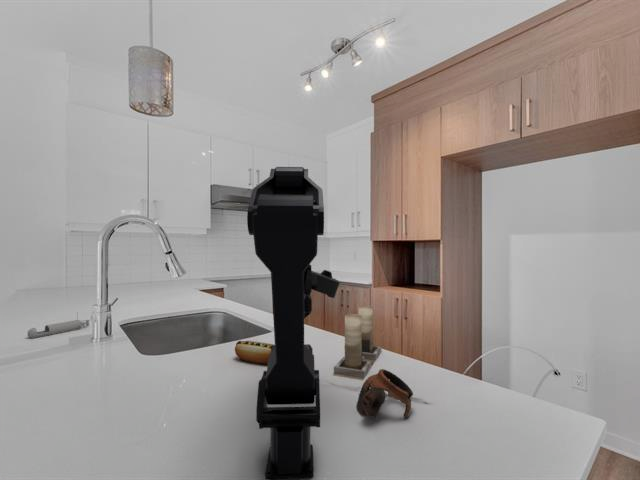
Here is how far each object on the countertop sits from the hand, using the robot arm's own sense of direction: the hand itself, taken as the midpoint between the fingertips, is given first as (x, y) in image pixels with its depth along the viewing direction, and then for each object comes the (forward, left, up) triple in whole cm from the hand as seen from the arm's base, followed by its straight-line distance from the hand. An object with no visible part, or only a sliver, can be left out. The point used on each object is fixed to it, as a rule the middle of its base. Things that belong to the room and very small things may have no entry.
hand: (294, 340), depth 61 cm
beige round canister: (+15, -13, -12) cm, 23 cm away
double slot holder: (+20, -16, -13) cm, 29 cm away
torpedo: (+56, +85, -13) cm, 102 cm away
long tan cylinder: (+26, -18, -12) cm, 34 cm away
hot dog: (+25, +11, -13) cm, 30 cm away
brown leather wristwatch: (-2, -16, -13) cm, 21 cm away
